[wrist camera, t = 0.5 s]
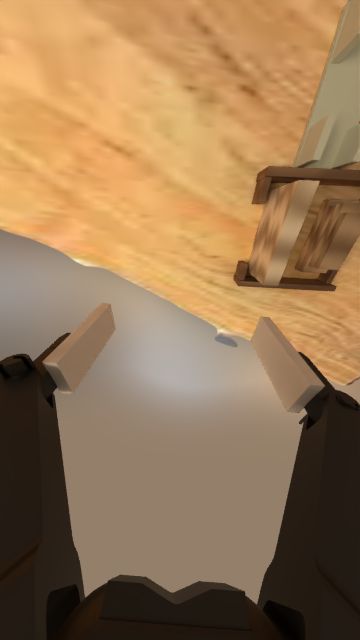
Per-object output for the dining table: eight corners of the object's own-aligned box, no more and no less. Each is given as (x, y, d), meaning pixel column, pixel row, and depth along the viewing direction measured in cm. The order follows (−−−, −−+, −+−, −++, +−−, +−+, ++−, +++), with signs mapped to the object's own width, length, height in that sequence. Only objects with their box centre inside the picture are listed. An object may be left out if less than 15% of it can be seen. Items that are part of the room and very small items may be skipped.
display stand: (343, 8, 21) (385, -50, 17) (402, 10, 21) (462, -48, 17) (292, 168, 30) (311, 159, 25) (334, 170, 30) (361, 161, 25)
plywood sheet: (267, 191, 32) (299, 180, 23) (282, 192, 32) (319, 181, 23) (246, 270, 41) (263, 284, 32) (257, 270, 41) (277, 285, 32)
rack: (257, 173, 31) (272, 163, 25) (377, 178, 30) (417, 170, 25) (233, 279, 42) (239, 288, 37) (319, 284, 42) (338, 293, 36)
